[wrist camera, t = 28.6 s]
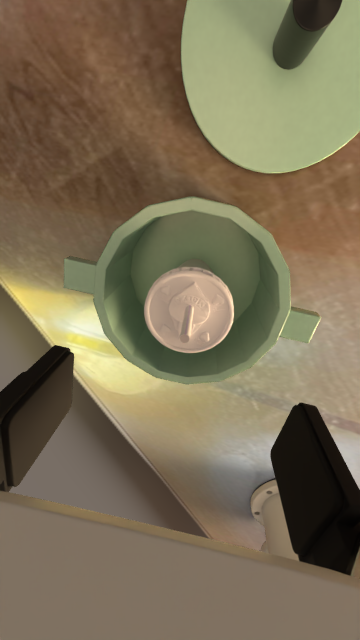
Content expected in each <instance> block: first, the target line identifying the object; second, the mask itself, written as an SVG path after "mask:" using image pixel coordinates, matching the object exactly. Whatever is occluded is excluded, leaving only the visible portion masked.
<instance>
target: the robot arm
mask: <svg viewBox="0 0 360 640" xmlns="http://www.w3.org/2000/svg"><path fill="white" fill-rule="evenodd" d="M73 366H74V354H73V353H72V352H70V349H69V348H66V347H61V346H57V345H55V346H53V347H52V348H51V349H50V350H49V351H48V352H47V353H46V354H45V355H43V356H42V357H41V358H40V359H39V360H38V361H37V362H36V363H35V364H34V365H33V366H32V367H31V368H29V369H28V370H27V371H26V372H23V373H21V374H20V375H18V376H17V377H16V378H15V379H14V380H13V381H12V382H11V383H10V384H9V385H7V386H6V387H5V388H4V389H3V390H2V391H1V392H0V640H360V490H359V488H358V486H357V484H356V482H355V480H354V479H353V477H352V475H351V473H350V471H349V469H348V467H347V465H346V463H345V461H344V459H343V457H342V455H341V453H340V452H339V450H338V448H337V446H336V444H335V442H334V440H333V438H332V436H331V434H330V432H329V430H328V428H327V427H326V425H325V423H324V421H323V419H322V417H321V415H320V413H319V411H318V409H317V408H316V407H315V406H313V405H309V404H304V403H299V404H298V405H295V406H294V407H293V408H292V410H291V412H290V414H289V416H288V418H287V420H286V422H285V424H284V426H283V428H282V430H281V432H280V433H279V435H278V437H277V439H276V441H275V443H274V445H273V447H272V449H271V461H272V465H273V469H274V474H275V478H276V479H275V480H272V481H270V482H267V483H265V484H263V485H262V486H260V487H259V488H258V489H257V490H256V491H255V492H254V493H253V495H252V497H251V503H250V505H251V511H252V514H253V516H254V518H255V519H256V520H257V521H258V522H259V523H260V524H262V525H263V526H264V528H265V534H266V541H265V542H264V544H263V545H262V548H261V551H257V550H253V549H249V548H245V547H241V546H237V545H233V544H228V543H224V542H220V541H216V540H212V539H208V538H204V537H200V536H196V535H191V534H187V533H183V532H179V531H175V530H170V529H166V528H162V527H158V526H153V525H150V524H145V523H141V522H137V521H133V520H129V519H124V518H120V517H116V516H111V515H107V514H103V513H98V512H94V511H90V510H85V509H81V508H77V507H73V506H69V505H64V504H60V503H55V502H52V501H47V500H42V499H37V498H33V497H28V496H23V495H19V494H14V493H9V491H10V489H11V488H12V486H14V487H16V486H18V485H19V484H20V482H21V481H22V479H23V477H24V476H25V475H26V473H27V472H28V470H29V469H30V467H31V466H32V464H33V463H34V462H35V460H36V459H37V457H38V456H39V454H40V453H41V451H42V450H43V448H44V447H45V445H46V444H47V442H48V441H49V439H50V438H51V436H52V435H53V433H54V432H55V430H56V429H57V427H58V426H59V424H60V423H61V421H62V420H63V418H64V417H65V415H66V414H67V413H68V411H69V409H70V407H71V404H72V389H73Z"/></svg>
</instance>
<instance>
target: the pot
mask: <svg viewBox="0 0 360 640" xmlns="http://www.w3.org/2000/svg"><path fill="white" fill-rule="evenodd" d="M190 259H200V260H202V261H204V262H206V263H207V264H208V265H209V267H210V268H211V270H212V271H213V273H214V275H216V276H217V277H219V278H220V279H221V280H222V281H223V282H224V284H225V285H226V286H227V287H228V289H229V291H230V293H231V296H232V299H233V305H234V318H233V323H232V326H231V329H230V331H229V332H228V334H227V335H226V337H225V338H224V339H223V340H222V341H221V342H220V343H219V344H217V345H216V346H214V347H213V348H210V349H208V350H206V351H202V352H197V353H183V352H178V351H175V350H172V349H170V348H168V347H166V346H164V345H163V344H161V343H160V342H159V341H158V340H157V339H156V338H155V337H154V336H153V335H152V333H151V332H150V330H149V329H148V326H147V324H146V321H145V316H144V305H145V300H146V297H147V295H148V292H149V290H150V288H151V287H152V285H153V283H154V282H155V281H156V280H157V279H158V278H159V277H160V276H161V275H163V274H164V273H166V272H168V271H170V270H172V269H176V268H178V267H179V266H180V265H181V264H182V263H184V262H185V261H187V260H190ZM64 288H67V289H72V290H76V291H81V292H85V293H89V294H94V299H93V301H94V305H95V308H96V311H97V314H98V316H99V319H100V322H101V325H102V328H103V331H104V334H105V335H106V336H107V337H108V339H109V340H110V341H111V342H112V343H113V345H114V346H115V347H116V348H117V349H118V351H119V352H120V353H121V354H122V355H123V357H124V358H125V359H127V361H129V362H131V363H132V364H134V365H136V366H137V367H139V368H141V369H142V370H144V371H146V372H147V373H149V374H151V375H152V376H154V377H156V378H160V379H165V380H169V381H174V382H178V383H182V384H198V383H209V382H220V381H222V380H225V379H227V378H229V377H231V376H234V375H236V374H238V373H240V372H242V371H245V370H247V369H249V368H251V367H252V366H253V365H254V364H255V363H256V362H257V361H258V360H259V359H260V358H261V357H262V356H263V355H265V354H266V353H267V352H268V351H269V350H270V349H271V348H272V347H273V346H274V345H275V344H276V342H277V340H278V338H279V337H283V338H287V339H291V340H296V341H300V342H305V343H309V341H310V339H311V337H312V335H313V333H314V331H315V329H316V327H317V325H318V323H319V321H320V319H321V317H320V316H319V314H318V313H317V312H313V311H309V310H304V309H300V308H296V307H291V302H290V270H289V268H288V266H287V264H286V262H285V260H284V258H283V256H282V254H281V252H280V250H279V248H278V246H277V244H276V242H275V240H274V238H273V236H272V234H271V233H270V232H268V231H267V230H266V229H265V228H263V227H262V226H261V225H259V224H258V223H257V222H256V221H254V220H253V219H252V218H250V217H249V216H248V215H247V214H245V213H244V212H243V211H241V210H240V209H239V208H238V207H236V206H233V205H230V204H228V203H224V202H220V201H215V200H211V199H207V198H202V197H198V196H190V197H185V198H180V199H176V200H171V201H166V202H161V203H157V204H152V205H149V206H146V207H145V208H144V209H142V210H141V211H140V212H138V213H137V214H136V215H134V216H133V217H132V218H130V219H129V220H128V221H126V222H125V223H124V224H122V225H121V226H120V227H118V228H117V229H116V230H115V231H114V232H113V234H112V235H111V237H110V239H109V241H108V243H107V245H106V247H105V249H104V250H103V252H102V254H101V256H100V258H99V260H98V262H95V261H90V260H86V259H82V258H77V257H73V256H69V257H66V258H64Z"/></svg>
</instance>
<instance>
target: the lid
mask: <svg viewBox="0 0 360 640" xmlns="http://www.w3.org/2000/svg"><path fill="white" fill-rule="evenodd" d="M181 66H182V77H183V82H184V87H185V92H186V97H187V100H188V103H189V106H190V110H191V112H192V114H193V117H194V119H195V121H196V123H197V125H198V127H199V129H200V130H201V132H202V134H203V135H204V137H205V138H206V139H207V140H208V142H209V143H210V144H211V145H212V147H213V148H214V149H215V150H217V151H218V152H219V153H220V154H221V155H222V156H223V157H225V158H226V159H228V160H229V161H231V162H232V163H234V164H236V165H238V166H240V167H242V168H245V169H248V170H251V171H255V172H261V173H284V172H291V171H295V170H298V169H302V168H305V167H308V166H310V165H312V164H315V163H317V162H319V161H321V160H323V159H325V158H326V157H328V156H330V155H332V154H333V153H334V152H336V151H337V150H339V149H340V148H341V147H343V146H344V145H345V144H346V143H348V142H349V141H350V140H351V139H352V138H353V137H354V136H355V135H356V134H357V133H358V132H359V131H360V0H187V4H186V9H185V14H184V19H183V27H182V37H181Z"/></svg>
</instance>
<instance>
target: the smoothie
mask: <svg viewBox="0 0 360 640" xmlns="http://www.w3.org/2000/svg"><path fill="white" fill-rule="evenodd" d="M144 316H145V321H146V324H147V326H148V329H149V330H150V332H151V333H152V335H153V336H154V337H155V338H156V339H157V340H158V341H159V342H160V343H161V344H163V345H164V346H166V347H168V348H170V349H172V350H175V351H178V352H183V353H197V352H202V351H206V350H208V349H210V348H213V347H214V346H216V345H217V344H219V343H220V342H221V341H222V340H223V339H224V338H225V337H226V335H227V334H228V332H229V331H230V329H231V326H232V323H233V318H234V305H233V299H232V296H231V293H230V291H229V289H228V287H227V286H226V285H225V284H224V282H223V281H222V280H221V279H220V278H219V277H217V276H216V275H214V273H213V271H212V270H211V268H210V267H209V265H208V264H207V263H206V262H204V261H202V260H200V259H190V260H187V261H185V262H184V263H182V264H181V265H180V266H179V267H178V268H176V269H172V270H170V271H168V272H166V273H164V274H163V275H161V276H160V277H159V278H158V279H157V280H156V281H155V282H154V283H153V285H152V287H151V288H150V290H149V292H148V295H147V297H146V300H145V305H144Z"/></svg>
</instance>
